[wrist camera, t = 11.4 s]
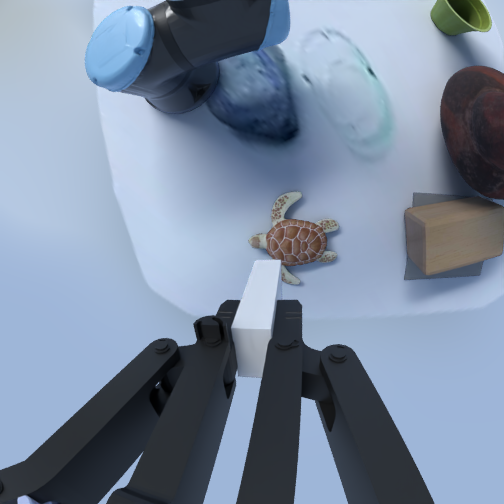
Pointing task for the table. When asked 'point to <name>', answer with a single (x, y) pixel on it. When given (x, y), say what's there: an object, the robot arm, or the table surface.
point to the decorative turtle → (294, 238)
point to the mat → (467, 270)
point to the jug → (476, 127)
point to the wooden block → (454, 233)
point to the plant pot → (461, 16)
